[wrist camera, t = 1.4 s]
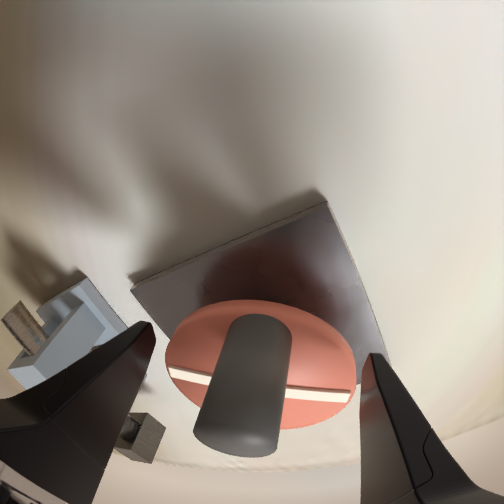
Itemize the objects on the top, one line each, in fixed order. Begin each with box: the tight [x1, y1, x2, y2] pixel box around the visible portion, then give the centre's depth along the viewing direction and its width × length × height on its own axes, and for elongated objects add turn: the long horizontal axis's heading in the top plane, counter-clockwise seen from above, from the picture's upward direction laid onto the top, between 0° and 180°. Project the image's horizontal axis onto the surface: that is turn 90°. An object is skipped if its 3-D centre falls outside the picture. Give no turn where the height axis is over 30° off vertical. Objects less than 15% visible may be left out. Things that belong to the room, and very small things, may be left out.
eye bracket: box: [7, 277, 147, 392], centre depth 15 cm, size 7×8×6 cm
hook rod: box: [1, 300, 166, 464], centre depth 15 cm, size 2×13×3 cm, turn 29°
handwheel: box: [165, 300, 357, 457], centre depth 11 cm, size 8×8×6 cm
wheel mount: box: [130, 201, 391, 385], centre depth 14 cm, size 10×10×1 cm
